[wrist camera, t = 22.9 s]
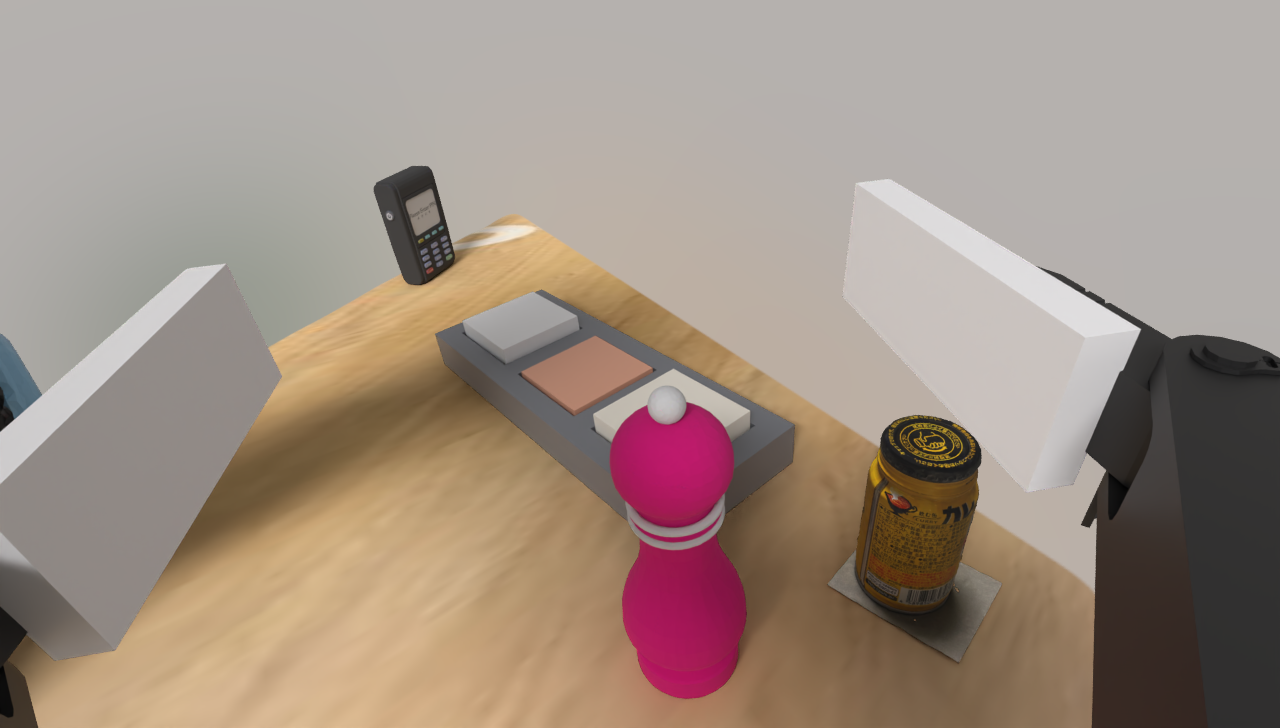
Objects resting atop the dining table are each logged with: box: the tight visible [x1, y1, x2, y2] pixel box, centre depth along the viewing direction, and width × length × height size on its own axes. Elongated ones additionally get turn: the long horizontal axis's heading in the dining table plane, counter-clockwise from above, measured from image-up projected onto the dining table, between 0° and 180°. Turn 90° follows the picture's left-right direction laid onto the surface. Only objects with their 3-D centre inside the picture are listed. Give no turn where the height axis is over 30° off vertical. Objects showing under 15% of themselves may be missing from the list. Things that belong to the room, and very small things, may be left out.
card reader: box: [374, 166, 455, 285], centre depth 88 cm, size 9×4×15 cm, turn 160°
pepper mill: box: [609, 386, 747, 699], centre depth 33 cm, size 7×7×20 cm
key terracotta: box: [521, 336, 653, 416], centre depth 59 cm, size 9×9×3 cm
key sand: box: [593, 369, 750, 444], centre depth 50 cm, size 9×9×3 cm
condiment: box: [827, 415, 1002, 663], centre depth 37 cm, size 7×8×12 cm
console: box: [435, 290, 795, 521], centre depth 59 cm, size 14×38×4 cm, turn 40°
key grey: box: [462, 292, 580, 365], centre depth 66 cm, size 9×9×3 cm
